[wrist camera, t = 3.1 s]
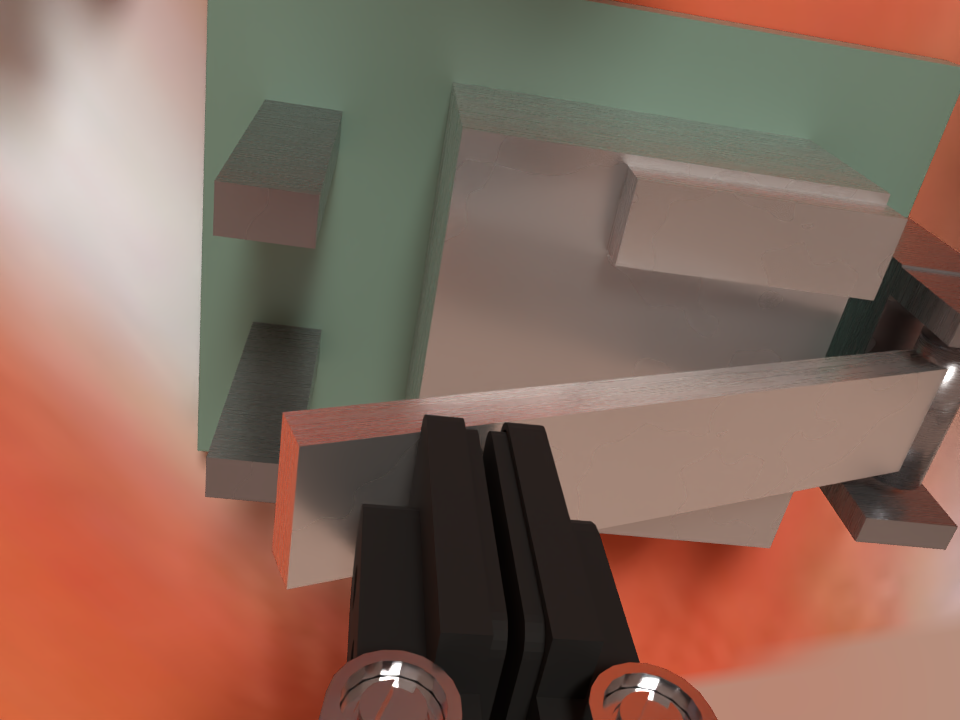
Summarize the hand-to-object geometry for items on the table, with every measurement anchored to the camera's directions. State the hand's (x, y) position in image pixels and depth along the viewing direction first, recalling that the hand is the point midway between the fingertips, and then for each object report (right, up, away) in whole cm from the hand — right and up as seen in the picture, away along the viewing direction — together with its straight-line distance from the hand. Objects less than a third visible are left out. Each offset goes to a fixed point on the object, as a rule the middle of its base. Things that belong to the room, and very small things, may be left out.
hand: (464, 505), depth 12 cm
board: (+2, +5, +9) cm, 10 cm away
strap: (+3, +1, +3) cm, 5 cm away
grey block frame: (+3, +4, +8) cm, 10 cm away
